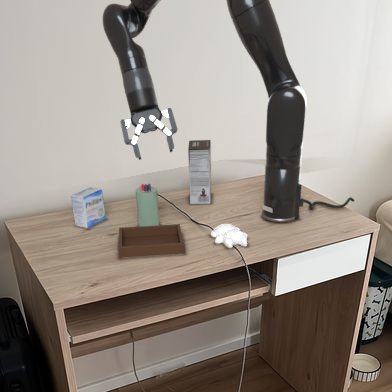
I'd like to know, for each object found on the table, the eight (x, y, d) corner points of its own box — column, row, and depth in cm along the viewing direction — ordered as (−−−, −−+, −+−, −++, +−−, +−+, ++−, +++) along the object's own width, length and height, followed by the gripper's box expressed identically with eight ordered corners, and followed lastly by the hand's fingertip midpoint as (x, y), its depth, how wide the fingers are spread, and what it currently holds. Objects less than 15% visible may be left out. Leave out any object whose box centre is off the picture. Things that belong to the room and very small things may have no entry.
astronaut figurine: (218, 250, 133) (218, 238, 131) (208, 231, 142) (207, 220, 141) (253, 246, 134) (253, 235, 132) (240, 228, 144) (240, 217, 142)
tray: (180, 234, 141) (179, 223, 140) (184, 254, 131) (183, 243, 129) (120, 237, 140) (119, 227, 139) (119, 258, 130) (118, 247, 128)
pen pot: (158, 221, 149) (156, 178, 142) (159, 229, 144) (157, 185, 137) (138, 222, 148) (134, 179, 142) (138, 230, 144) (134, 186, 137)
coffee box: (190, 194, 167) (188, 139, 158) (211, 193, 167) (210, 139, 157) (189, 204, 159) (187, 148, 150) (211, 204, 159) (211, 147, 150)
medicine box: (87, 229, 145) (82, 197, 141) (75, 226, 147) (70, 194, 143) (106, 219, 151) (102, 188, 146) (94, 216, 153) (90, 186, 148)
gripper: (111, 94, 136) (129, 160, 140) (166, 80, 136) (182, 147, 140) (114, 100, 143) (130, 163, 147) (166, 87, 143) (181, 150, 147)
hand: (155, 155), depth 144 cm, fingers open, 8 cm apart
